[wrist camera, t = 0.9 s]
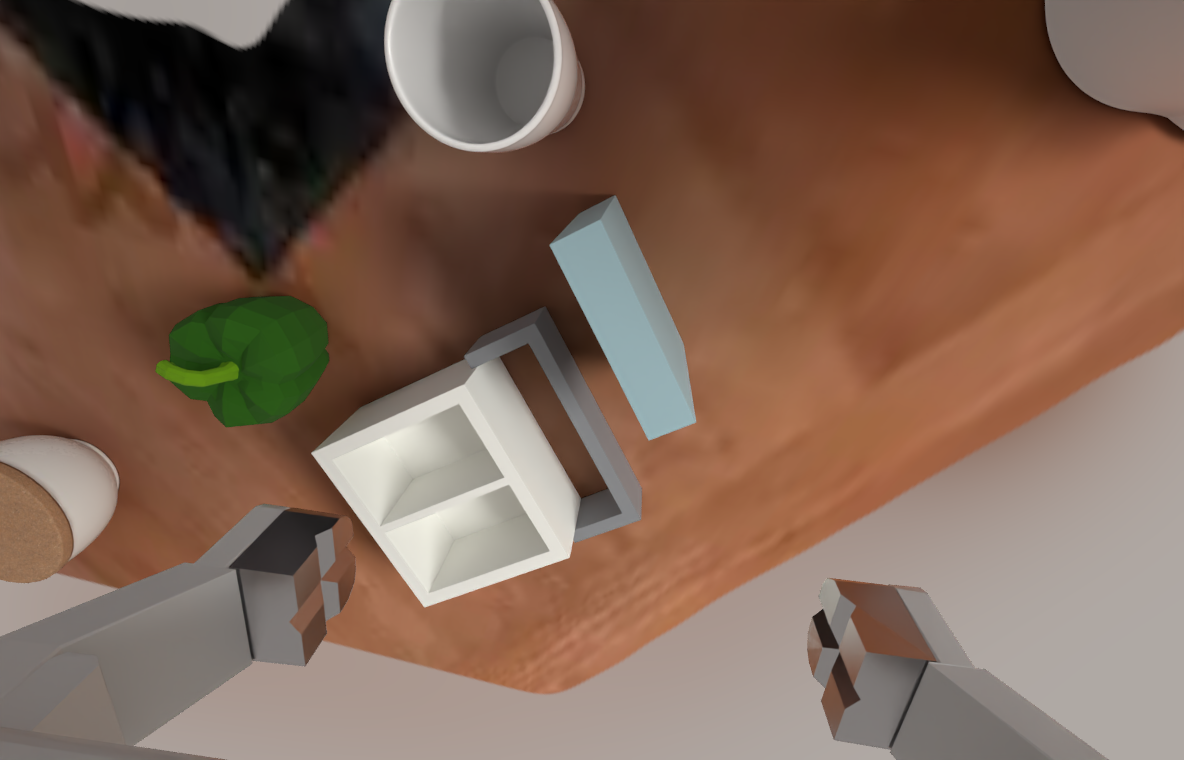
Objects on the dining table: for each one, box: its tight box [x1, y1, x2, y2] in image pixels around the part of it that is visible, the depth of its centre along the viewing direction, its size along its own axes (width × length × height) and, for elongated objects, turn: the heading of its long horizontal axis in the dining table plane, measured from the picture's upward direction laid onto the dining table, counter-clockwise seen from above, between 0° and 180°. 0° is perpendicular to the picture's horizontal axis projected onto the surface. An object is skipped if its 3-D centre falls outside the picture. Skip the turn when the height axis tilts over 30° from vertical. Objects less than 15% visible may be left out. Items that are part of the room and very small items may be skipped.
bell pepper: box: [156, 296, 329, 427], centre depth 38 cm, size 8×8×10 cm
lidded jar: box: [0, 435, 120, 583], centre depth 45 cm, size 11×11×9 cm
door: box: [550, 195, 696, 440], centre depth 33 cm, size 3×11×12 cm, turn 26°
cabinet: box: [311, 306, 642, 607], centre depth 41 cm, size 17×16×7 cm
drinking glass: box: [384, 0, 585, 153], centre depth 28 cm, size 7×7×15 cm
